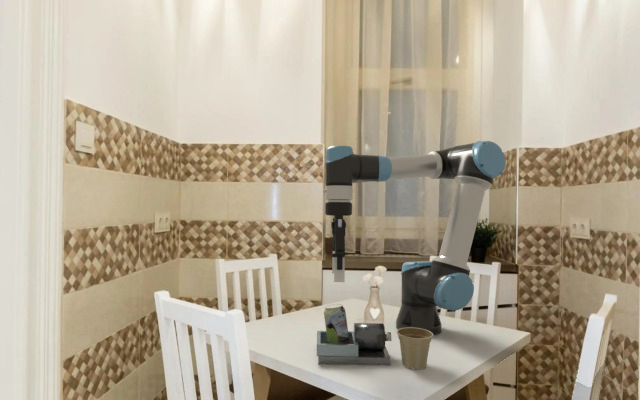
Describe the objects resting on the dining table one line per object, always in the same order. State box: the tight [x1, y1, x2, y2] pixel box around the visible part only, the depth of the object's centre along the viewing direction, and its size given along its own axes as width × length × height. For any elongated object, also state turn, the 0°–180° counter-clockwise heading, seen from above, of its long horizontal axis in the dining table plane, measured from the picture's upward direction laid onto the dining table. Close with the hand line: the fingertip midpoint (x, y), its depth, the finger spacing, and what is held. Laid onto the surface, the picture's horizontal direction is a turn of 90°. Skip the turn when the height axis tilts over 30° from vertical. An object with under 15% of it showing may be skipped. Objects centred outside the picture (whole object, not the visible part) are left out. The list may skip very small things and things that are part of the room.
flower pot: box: [396, 327, 434, 371], centre depth 108 cm, size 9×9×9 cm
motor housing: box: [316, 322, 392, 366], centre depth 114 cm, size 20×13×9 cm, turn 90°
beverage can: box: [323, 303, 350, 344], centre depth 115 cm, size 6×7×12 cm
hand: (338, 277), depth 115 cm, fingers open, 13 cm apart
